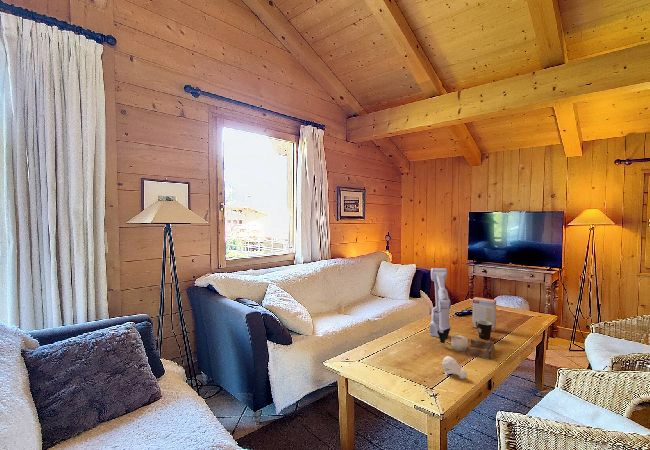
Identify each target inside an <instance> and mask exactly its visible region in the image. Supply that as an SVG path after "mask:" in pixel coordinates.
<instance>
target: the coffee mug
mask: <svg viewBox="0 0 650 450" xmlns="http://www.w3.org/2000/svg"><path fill="white" fill-rule="evenodd" d="M477 324H478V326H477ZM476 326H477V328H476V329H477V331H478V338H479V339H480V340H482V341H483V340H484V341H490V340H491V334H492V331H491V328H492V323H491V322H488V321H477V322H476Z"/></svg>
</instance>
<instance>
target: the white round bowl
mask: <svg viewBox="0 0 650 450" xmlns="http://www.w3.org/2000/svg"><path fill="white" fill-rule="evenodd" d="M450 339H451V340H450V341H451V343H450V345H451V346H450V347H451V349H453V350H455V351H460V352H466V349H467V347H469V346H468V343H469V341H468V340H469V339H468V338H467V337H466V336H464V335H459V334H457V335H455V334H454V335H452V336H451V338H450Z"/></svg>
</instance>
